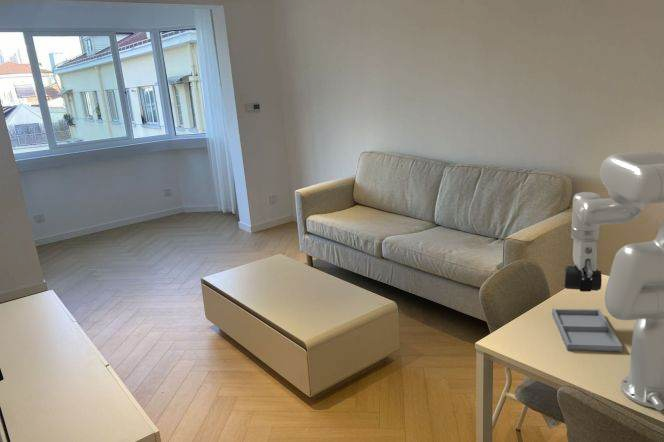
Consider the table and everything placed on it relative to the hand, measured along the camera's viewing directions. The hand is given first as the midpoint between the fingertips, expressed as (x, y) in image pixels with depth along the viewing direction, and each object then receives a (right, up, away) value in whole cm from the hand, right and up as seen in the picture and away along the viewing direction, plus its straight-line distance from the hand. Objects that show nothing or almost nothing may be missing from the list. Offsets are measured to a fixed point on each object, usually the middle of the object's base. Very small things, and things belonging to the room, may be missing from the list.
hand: (581, 284), depth 156 cm
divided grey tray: (0, -15, -1) cm, 15 cm away
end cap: (0, -2, 0) cm, 2 cm away
